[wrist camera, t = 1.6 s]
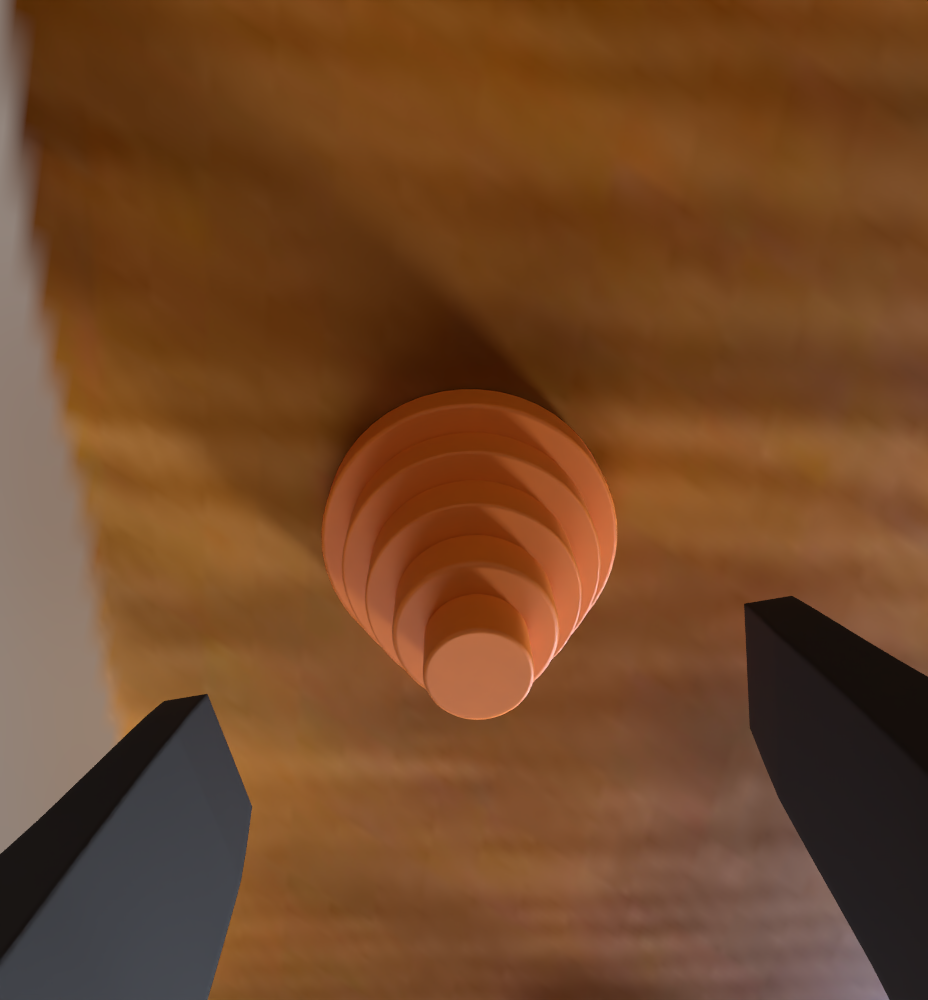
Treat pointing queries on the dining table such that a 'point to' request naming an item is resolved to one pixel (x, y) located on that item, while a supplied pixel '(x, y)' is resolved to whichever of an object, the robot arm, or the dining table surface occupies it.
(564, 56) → the dining table surface
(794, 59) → the dining table surface
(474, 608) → the cone
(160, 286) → the dining table surface
